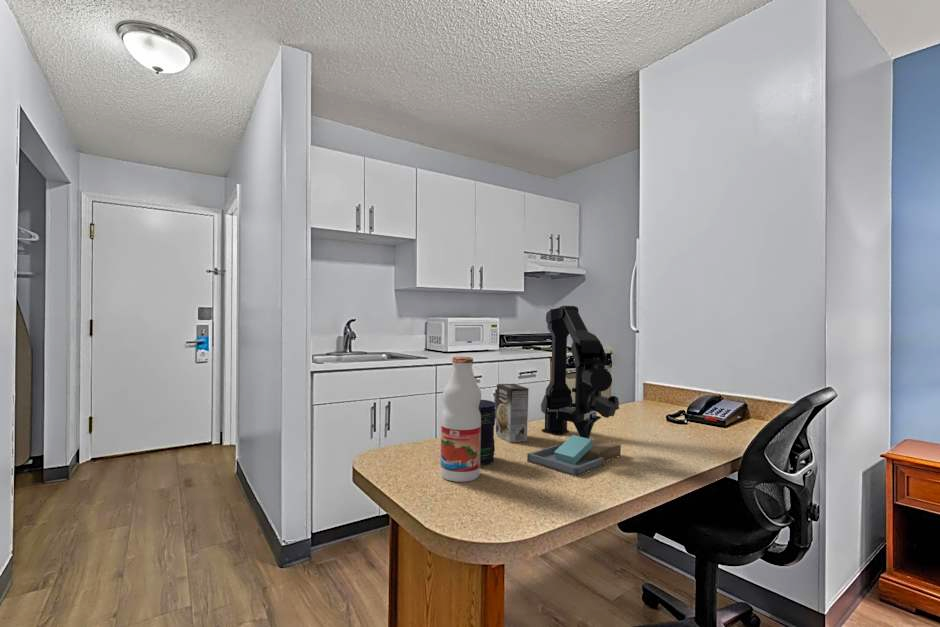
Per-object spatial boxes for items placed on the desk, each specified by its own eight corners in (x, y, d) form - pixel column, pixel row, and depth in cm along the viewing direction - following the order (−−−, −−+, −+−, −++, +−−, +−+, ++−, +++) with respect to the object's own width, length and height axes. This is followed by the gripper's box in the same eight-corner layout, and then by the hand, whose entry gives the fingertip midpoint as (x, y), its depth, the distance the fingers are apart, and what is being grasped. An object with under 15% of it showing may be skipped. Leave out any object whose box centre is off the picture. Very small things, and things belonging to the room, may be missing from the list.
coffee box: (494, 435, 151) (495, 383, 151) (512, 433, 154) (513, 382, 154) (509, 443, 143) (510, 388, 143) (527, 441, 146) (529, 387, 145)
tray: (527, 461, 126) (527, 453, 126) (555, 452, 135) (556, 444, 135) (576, 476, 116) (576, 468, 116) (603, 465, 124) (604, 458, 124)
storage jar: (491, 467, 121) (492, 408, 121) (452, 464, 123) (454, 405, 123) (497, 455, 131) (498, 400, 130) (461, 452, 133) (462, 398, 132)
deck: (560, 453, 134) (560, 442, 134) (582, 446, 142) (583, 435, 141) (598, 464, 125) (599, 452, 125) (620, 455, 133) (620, 445, 133)
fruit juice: (486, 472, 117) (488, 357, 117) (470, 485, 108) (472, 360, 108) (451, 466, 121) (453, 354, 121) (433, 478, 112) (435, 358, 112)
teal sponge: (555, 458, 127) (553, 451, 127) (574, 441, 133) (572, 434, 132) (574, 464, 123) (573, 457, 122) (593, 446, 129) (592, 439, 128)
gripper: (593, 392, 119) (592, 456, 119) (630, 385, 132) (629, 442, 132) (556, 386, 127) (554, 446, 127) (594, 380, 140) (593, 434, 140)
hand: (584, 442), depth 131 cm, fingers closed
